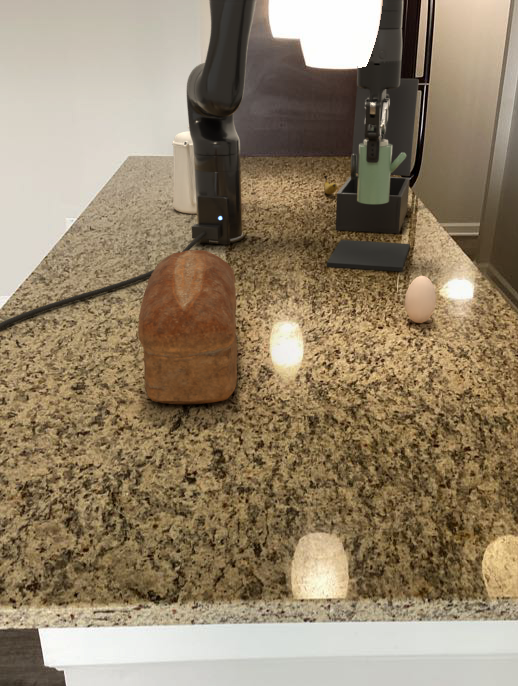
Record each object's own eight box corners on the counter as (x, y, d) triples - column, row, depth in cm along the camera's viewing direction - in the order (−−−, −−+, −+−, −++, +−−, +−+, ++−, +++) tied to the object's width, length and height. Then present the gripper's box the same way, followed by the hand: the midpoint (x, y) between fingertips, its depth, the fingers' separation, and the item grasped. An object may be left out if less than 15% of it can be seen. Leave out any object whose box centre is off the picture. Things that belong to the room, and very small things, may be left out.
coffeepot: (165, 223, 175) (158, 133, 166) (180, 197, 197) (175, 117, 188) (213, 223, 175) (209, 134, 166) (224, 197, 197) (221, 117, 188)
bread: (138, 416, 95) (127, 310, 88) (158, 322, 122) (151, 236, 115) (239, 413, 95) (236, 307, 89) (237, 320, 122) (234, 234, 116)
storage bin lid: (418, 79, 175) (418, 79, 175) (357, 77, 177) (358, 78, 178) (409, 175, 180) (409, 175, 180) (350, 172, 182) (351, 173, 183)
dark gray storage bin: (398, 233, 167) (401, 196, 163) (335, 230, 170) (336, 193, 166) (407, 212, 184) (409, 177, 180) (349, 208, 187) (350, 175, 183)
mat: (401, 271, 144) (402, 267, 144) (326, 266, 147) (326, 262, 146) (409, 247, 158) (409, 243, 157) (340, 243, 161) (340, 239, 160)
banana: (338, 199, 195) (339, 183, 193) (329, 200, 195) (329, 183, 193) (329, 190, 204) (330, 175, 202) (320, 191, 203) (321, 175, 201)
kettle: (404, 198, 149) (409, 131, 143) (401, 205, 144) (406, 136, 138) (352, 196, 151) (354, 129, 145) (347, 203, 146) (349, 134, 140)
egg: (409, 328, 119) (412, 281, 116) (399, 318, 123) (402, 272, 120) (438, 326, 120) (442, 279, 117) (427, 316, 124) (431, 270, 121)
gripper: (363, 54, 143) (359, 151, 151) (352, 60, 130) (348, 165, 138) (405, 55, 141) (399, 152, 149) (397, 61, 129) (391, 167, 137)
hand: (374, 158), depth 144 cm, fingers closed on kettle, 6 cm apart
